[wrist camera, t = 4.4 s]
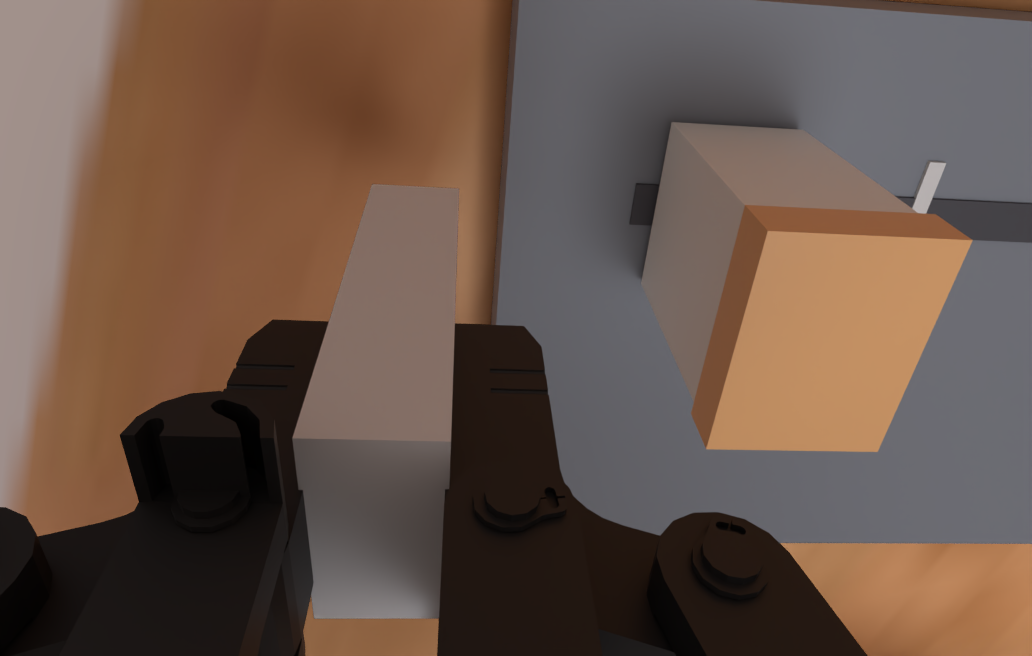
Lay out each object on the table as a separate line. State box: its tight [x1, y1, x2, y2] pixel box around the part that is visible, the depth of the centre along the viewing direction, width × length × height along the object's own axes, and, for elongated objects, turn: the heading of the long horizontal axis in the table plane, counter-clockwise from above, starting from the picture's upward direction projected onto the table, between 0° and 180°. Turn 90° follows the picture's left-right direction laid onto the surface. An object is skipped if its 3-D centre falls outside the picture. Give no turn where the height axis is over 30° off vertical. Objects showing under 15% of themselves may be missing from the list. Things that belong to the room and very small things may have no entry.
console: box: [491, 0, 1032, 544], centre depth 20 cm, size 28×16×2 cm, turn 86°
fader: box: [641, 122, 973, 452], centre depth 14 cm, size 3×4×6 cm
